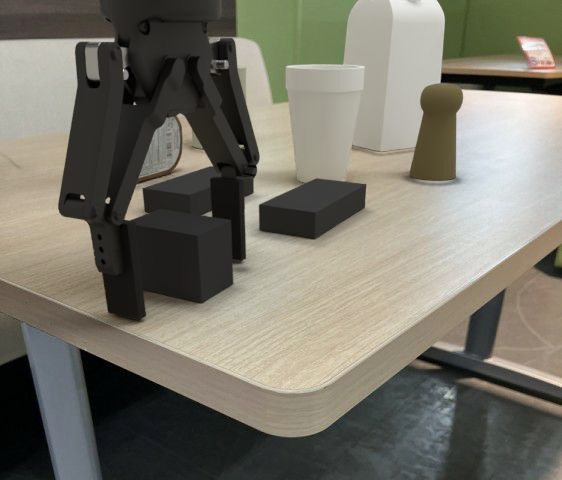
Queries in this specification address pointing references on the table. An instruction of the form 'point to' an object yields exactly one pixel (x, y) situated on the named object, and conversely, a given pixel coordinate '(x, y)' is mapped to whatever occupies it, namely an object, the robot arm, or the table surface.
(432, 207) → the table surface
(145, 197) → the pad pair
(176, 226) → the black rectangular block
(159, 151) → the tin
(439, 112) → the olive knobbed tapered post
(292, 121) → the foam cup
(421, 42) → the milk
